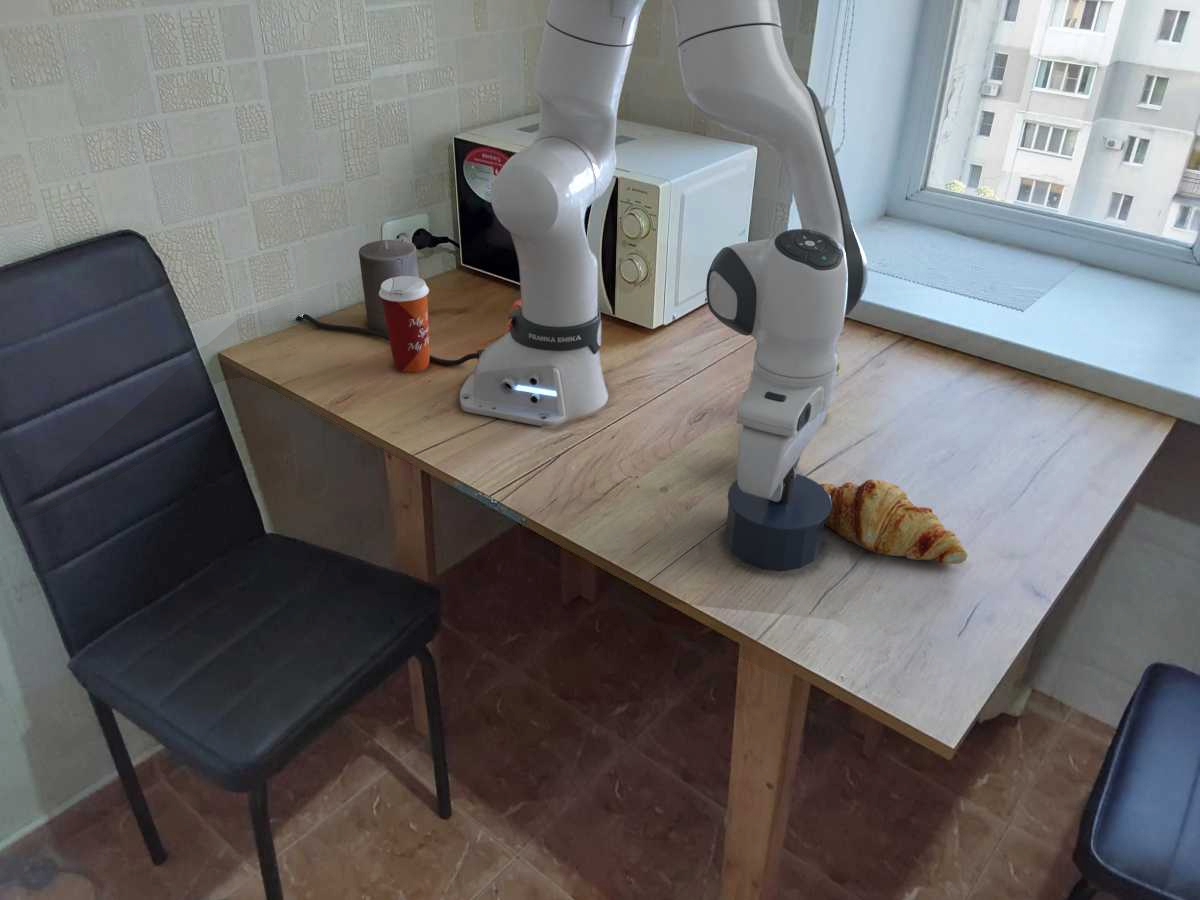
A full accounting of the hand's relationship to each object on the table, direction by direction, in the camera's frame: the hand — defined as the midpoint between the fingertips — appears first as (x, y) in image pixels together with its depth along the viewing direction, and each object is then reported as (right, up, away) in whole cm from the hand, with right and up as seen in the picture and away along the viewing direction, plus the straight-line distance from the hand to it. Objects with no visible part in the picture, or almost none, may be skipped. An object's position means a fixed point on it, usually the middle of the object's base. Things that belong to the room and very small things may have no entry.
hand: (780, 488), depth 112 cm
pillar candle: (-57, +27, +58) cm, 86 cm away
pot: (0, -7, +4) cm, 8 cm away
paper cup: (-51, +18, +45) cm, 70 cm away
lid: (0, -2, +1) cm, 2 cm away
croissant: (+13, -6, +6) cm, 15 cm away
